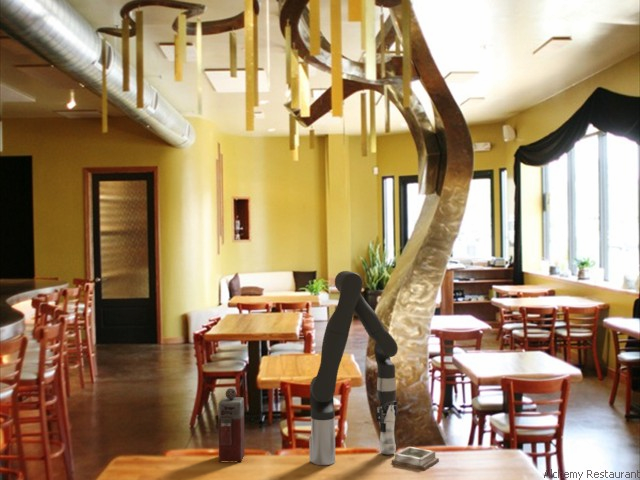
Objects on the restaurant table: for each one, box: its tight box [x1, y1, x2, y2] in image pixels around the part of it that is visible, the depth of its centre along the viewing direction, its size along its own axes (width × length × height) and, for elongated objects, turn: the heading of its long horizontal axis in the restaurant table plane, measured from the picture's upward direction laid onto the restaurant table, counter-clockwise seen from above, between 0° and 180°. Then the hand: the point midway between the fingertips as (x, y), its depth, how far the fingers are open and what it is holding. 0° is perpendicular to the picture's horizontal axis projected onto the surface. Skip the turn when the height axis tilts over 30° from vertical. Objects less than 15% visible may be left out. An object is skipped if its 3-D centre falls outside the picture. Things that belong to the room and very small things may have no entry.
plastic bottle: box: [378, 405, 397, 456], centre depth 255 cm, size 6×7×20 cm
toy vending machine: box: [217, 387, 245, 462], centre depth 251 cm, size 9×11×28 cm
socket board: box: [391, 446, 440, 471], centre depth 244 cm, size 14×12×4 cm
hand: (387, 430), depth 255 cm, fingers closed on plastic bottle, 6 cm apart
